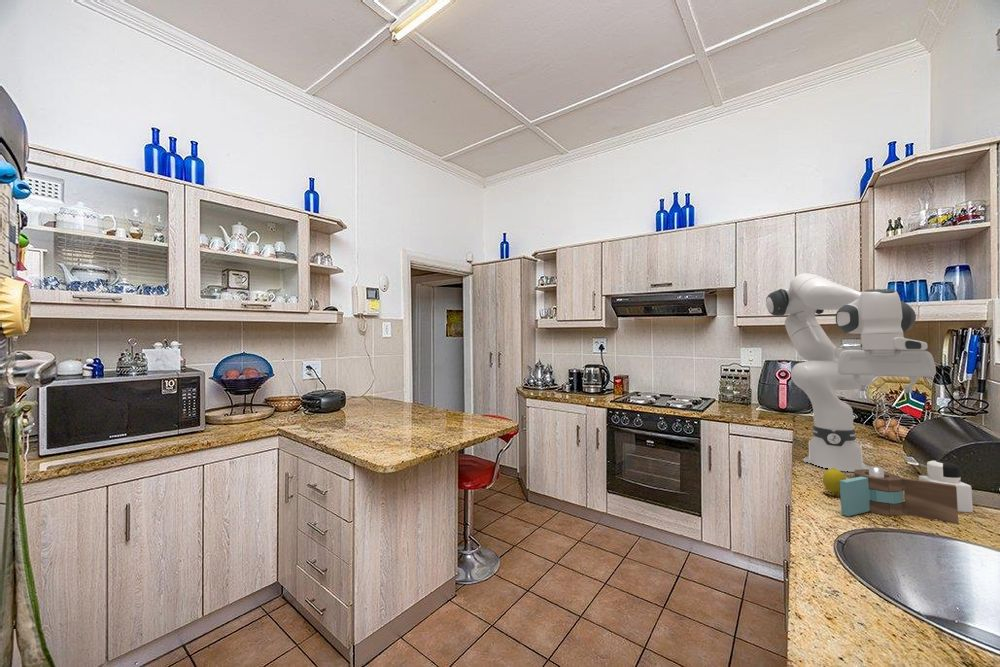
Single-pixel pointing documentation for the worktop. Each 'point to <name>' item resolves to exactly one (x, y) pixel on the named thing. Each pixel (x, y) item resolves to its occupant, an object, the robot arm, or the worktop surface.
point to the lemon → (833, 480)
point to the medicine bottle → (950, 482)
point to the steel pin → (876, 471)
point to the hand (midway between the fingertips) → (884, 391)
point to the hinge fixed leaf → (914, 497)
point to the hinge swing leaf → (863, 496)
